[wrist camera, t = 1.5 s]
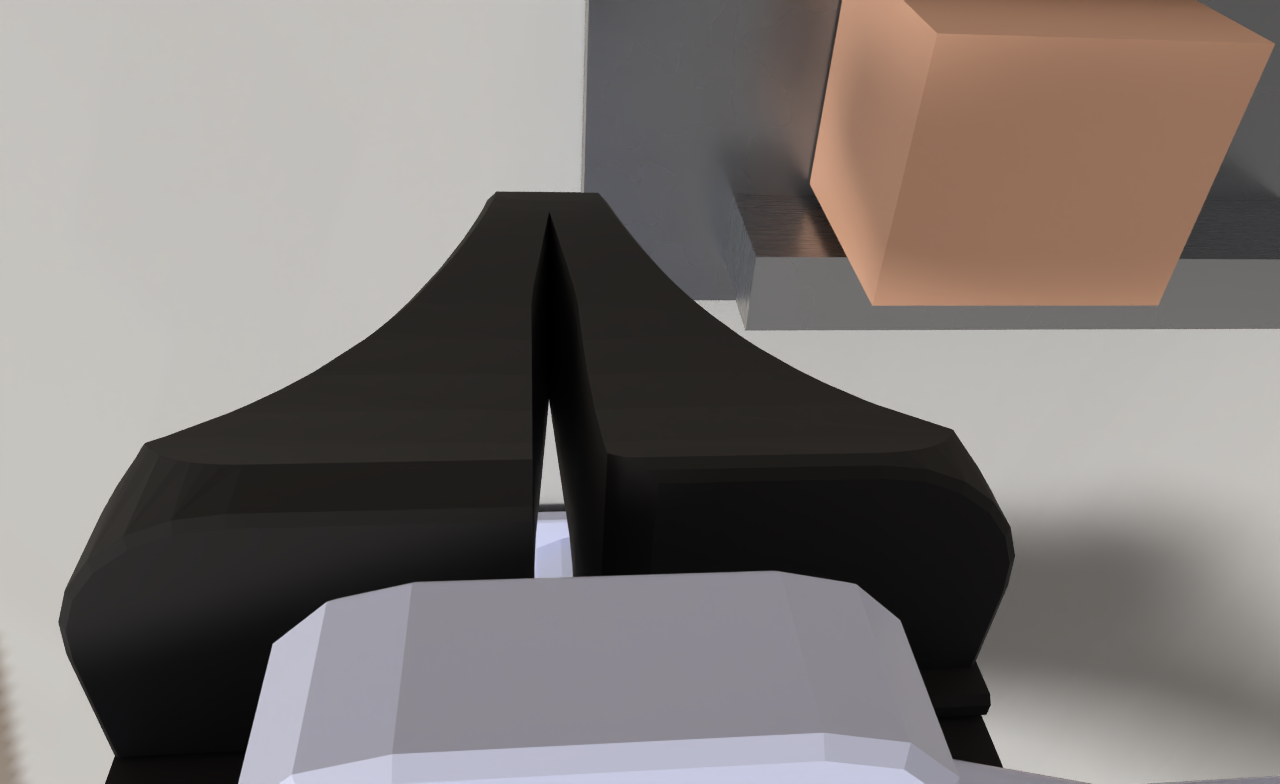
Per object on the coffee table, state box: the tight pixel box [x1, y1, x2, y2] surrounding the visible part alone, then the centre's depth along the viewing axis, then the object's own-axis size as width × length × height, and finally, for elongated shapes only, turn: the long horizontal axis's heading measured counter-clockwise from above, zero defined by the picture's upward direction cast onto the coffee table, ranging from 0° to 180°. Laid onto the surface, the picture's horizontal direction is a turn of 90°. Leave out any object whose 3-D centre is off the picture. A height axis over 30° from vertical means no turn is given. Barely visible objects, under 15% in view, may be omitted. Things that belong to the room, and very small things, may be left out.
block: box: [810, 0, 1275, 306], centre depth 17 cm, size 4×5×4 cm
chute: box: [581, 0, 1280, 330], centre depth 18 cm, size 10×22×4 cm, turn 87°
